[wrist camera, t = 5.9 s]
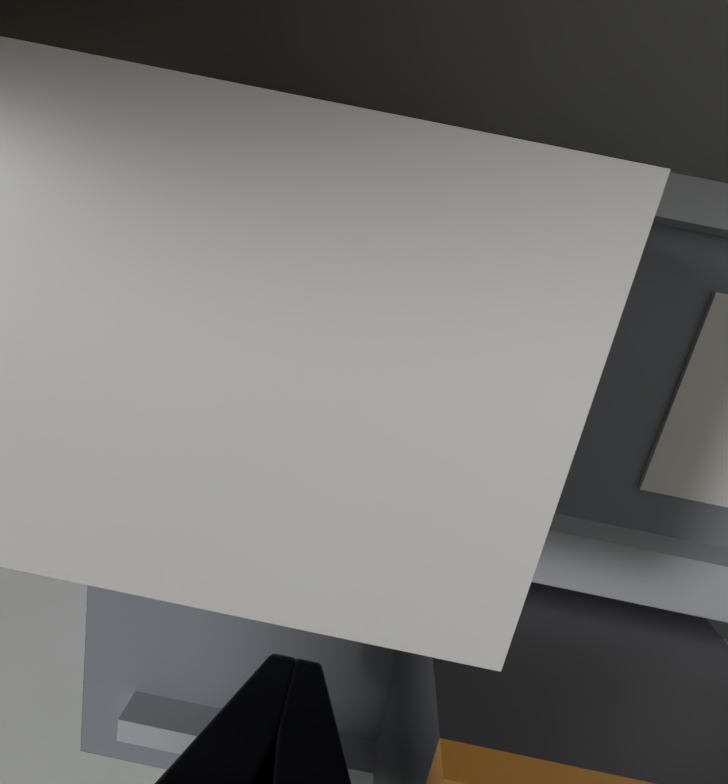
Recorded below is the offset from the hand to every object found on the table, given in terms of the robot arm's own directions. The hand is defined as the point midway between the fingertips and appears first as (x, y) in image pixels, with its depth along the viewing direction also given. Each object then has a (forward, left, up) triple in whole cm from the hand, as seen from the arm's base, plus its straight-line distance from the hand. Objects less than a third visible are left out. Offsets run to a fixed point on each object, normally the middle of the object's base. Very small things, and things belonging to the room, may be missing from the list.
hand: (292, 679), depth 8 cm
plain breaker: (0, -5, -1) cm, 5 cm away
